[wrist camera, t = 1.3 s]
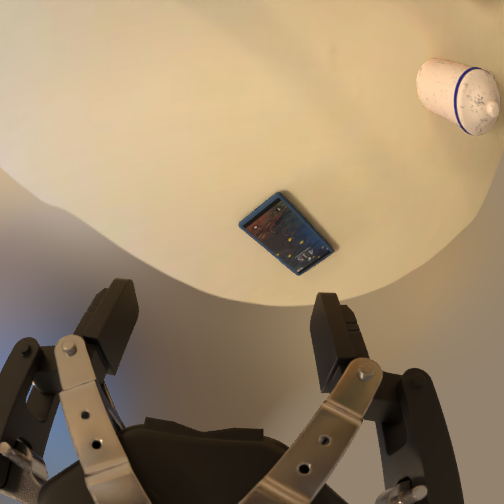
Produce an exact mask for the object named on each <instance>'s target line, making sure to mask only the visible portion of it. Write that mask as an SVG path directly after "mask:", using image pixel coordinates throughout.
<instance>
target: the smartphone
mask: <svg viewBox="0 0 504 504" xmlns="http://www.w3.org/2000/svg"><path fill="white" fill-rule="evenodd" d="M239 227H240V228H241V229H242V230H243V231H245V232H246V233H247V234H248V235H249V236H251V237H252V238H253V239H254V240H255V241H257V242H258V243H259V244H260V245H261V246H263V247H264V248H265V249H266V250H267V251H269V252H270V253H271V254H272V255H273V256H275V257H276V258H277V259H278V260H279V261H281V263H283V264H284V265H285V266H286V267H287V268H289V269H290V270H291V271H292V272H293V273H295V274H296V275H298V276H299V275H301V274H303V273H304V272H306V271H307V270H309V269H310V268H312V267H313V266H315V265H316V264H318V263H319V262H321V261H322V260H323V259H325V258H326V257H328V256H329V255H331V254H332V253H333V252H334V250H333V248H332V247H331V246H330V245H329V244H328V243H327V242H326V241H325V239H324V238H323V237H322V236H321V235H320V234H319V233H318V232H317V231H316V230H315V229H314V227H313V226H312V225H311V224H310V223H309V222H308V221H307V220H306V219H305V218H304V217H303V216H302V215H301V214H300V213H299V211H298V210H297V209H296V208H295V207H294V206H293V205H292V204H291V203H290V202H289V201H288V200H287V199H286V198H285V197H284V196H283V195H282V194H281V193H279V192H277V193H275V194H274V195H273V196H271V197H270V198H269V199H268V200H266V201H265V202H264V203H263V204H261V205H260V206H259V207H258V208H256V209H255V210H254V211H253V212H252V213H250V214H249V215H248V216H247V217H245V218H244V219H243V220H242V221H240V222H239Z"/></svg>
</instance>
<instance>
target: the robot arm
mask: <svg viewBox="0 0 504 504" xmlns="http://www.w3.org/2000/svg"><path fill="white" fill-rule="evenodd" d="M138 314H139V307H138V302H137V298H136V293H135V289H134V284H133V281H132V280H130V279H120V278H115V279H114V280H113V282H112V284H111V285H110V287H109V288H104V289H103V290H102V291H100V292H99V293H98V294H97V295H96V296H95V298H94V300H93V301H92V303H91V305H90V306H89V308H88V309H87V311H86V313H85V314H84V316H83V318H82V319H81V321H80V323H79V325H78V326H77V328H76V330H75V332H74V333H73V335H68V336H65V337H63V338H61V339H60V340H59V341H58V342H57V344H56V345H55V346H41V347H40V345H39V344H38V342H37V340H35V339H34V338H31V337H27V338H23V339H21V340H20V341H18V342H17V343H16V345H15V346H14V348H13V350H12V352H11V353H10V355H9V357H8V359H7V361H6V363H5V365H4V367H3V369H2V371H1V373H0V493H2V494H4V495H6V496H8V497H11V498H14V499H16V500H18V501H20V502H22V503H24V504H348V503H347V502H346V501H345V500H344V499H342V498H341V497H340V496H339V495H338V494H337V493H336V492H335V491H334V490H333V489H332V488H330V487H329V486H328V485H327V484H326V481H327V479H328V478H329V477H330V475H331V474H332V472H333V471H334V469H335V468H336V466H337V465H338V463H339V462H340V460H341V459H342V457H343V455H344V454H345V452H346V451H347V449H348V447H349V445H350V444H351V442H352V440H353V439H354V437H355V435H356V434H357V432H358V430H359V428H360V426H361V424H362V422H363V420H362V419H364V420H370V421H375V423H376V428H377V435H378V441H379V447H380V454H381V460H382V467H383V475H384V482H385V491H384V492H382V493H381V494H380V495H379V496H378V498H377V499H376V502H375V504H464V499H463V494H462V488H461V482H460V477H459V472H458V468H457V463H456V459H455V455H454V451H453V447H452V443H451V440H450V436H449V432H448V429H447V425H446V422H445V418H444V415H443V412H442V409H441V406H440V403H439V400H438V397H437V394H436V391H435V388H434V385H433V382H432V380H431V378H430V376H429V375H428V374H427V373H426V372H425V371H423V370H421V369H418V368H411V369H408V370H407V371H406V372H405V373H404V374H403V375H398V374H392V373H387V372H384V371H382V369H381V367H380V366H379V365H378V364H377V363H376V362H375V361H373V360H371V359H370V358H369V355H368V352H367V349H366V346H365V343H364V340H363V337H362V334H361V332H360V329H359V326H358V324H357V320H356V317H355V315H354V313H353V312H352V310H351V309H350V308H349V307H348V306H347V305H340V303H339V300H338V297H337V294H336V293H321V292H319V293H318V294H317V297H316V301H315V305H314V309H313V312H312V316H311V320H310V332H311V338H312V344H313V349H314V354H315V360H316V366H317V372H318V377H319V383H320V389H321V393H330V395H329V396H328V398H327V399H326V401H324V402H323V404H322V405H321V406H320V408H319V409H318V411H317V412H316V413H315V415H314V416H313V418H312V419H311V420H310V422H309V423H308V424H307V426H306V427H305V428H304V430H303V431H302V433H301V434H300V435H299V436H298V438H297V439H296V440H295V441H294V443H293V444H292V445H291V447H290V448H289V447H288V446H286V445H285V444H283V443H282V442H280V441H277V440H275V439H272V438H270V437H266V436H263V429H248V428H229V429H223V430H216V431H208V432H200V431H197V430H194V429H192V428H189V427H186V426H184V425H181V424H178V423H176V422H173V421H166V420H160V419H154V418H148V417H146V419H145V423H144V424H138V425H134V426H129V427H127V428H126V427H125V425H124V423H123V422H122V420H121V418H120V416H119V414H118V412H117V410H116V407H115V405H114V403H113V401H112V398H111V396H110V393H109V391H108V388H107V386H106V383H105V381H104V378H105V376H106V374H110V375H115V374H116V372H117V369H118V366H119V364H120V361H121V359H122V356H123V353H124V351H125V348H126V346H127V343H128V341H129V338H130V336H131V333H132V331H133V329H134V326H135V324H136V321H137V318H138ZM32 383H33V384H34V386H33V388H32V390H31V393H30V395H29V398H28V401H27V403H26V397H27V395H28V392H29V390H30V387H31V385H32ZM59 402H61V406H62V409H63V413H64V417H65V420H66V423H67V427H68V430H69V433H70V436H71V439H72V442H73V445H74V448H75V450H76V453H77V456H78V458H79V460H78V461H76V462H75V463H73V464H72V465H70V466H69V467H67V468H66V469H64V470H63V471H61V472H60V473H58V474H57V475H55V476H54V477H52V478H51V479H49V480H48V481H47V478H48V472H47V470H46V465H45V462H44V460H43V455H44V451H45V447H46V444H47V440H48V437H49V433H50V430H51V427H52V423H53V420H54V417H55V414H56V411H57V408H58V405H59Z"/></svg>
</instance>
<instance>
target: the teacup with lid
mask: <svg viewBox="0 0 504 504" xmlns="http://www.w3.org/2000/svg"><path fill="white" fill-rule="evenodd" d="M416 87H417V93H418V96H419V99H420V101H421V102H422V104H423V105H424V106H425V108H427V109H428V110H429V111H431V112H433V113H435V114H437V115H439V116H441V117H443V118H445V119H446V120H448V121H450V122H452V123H454V124H456V125H458V126H459V127H461V128H462V129H463V130H464V131H465V132H466V133H468V134H470V135H476V136H479V135H483V134H485V133H487V132H488V131H489V130H490V129H491V128H492V127H493V126H494V124H495V122H496V120H497V118H498V114H499V109H500V96H499V91H498V88H497V85H496V83H495V77H494V74H493V73H492V72H491V71H489V70H486V69H481V68H477V67H469V66H466V65H462V64H459V63H455V62H451V61H448V60H444V59H439V58H433V59H430V60H427V61H426V62H425V63H424V64H423V65H422V66H421V68H420V69H419V72H418V75H417V80H416Z"/></svg>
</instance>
